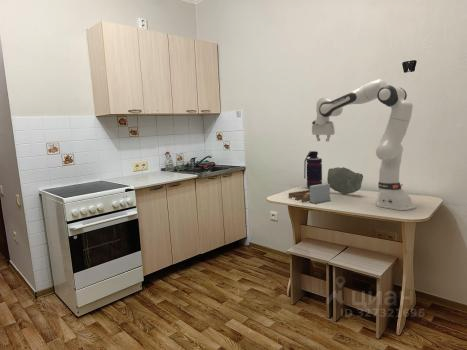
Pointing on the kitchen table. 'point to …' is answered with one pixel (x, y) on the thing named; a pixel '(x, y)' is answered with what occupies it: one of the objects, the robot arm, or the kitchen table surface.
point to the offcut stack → (306, 195)
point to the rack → (300, 195)
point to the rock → (344, 180)
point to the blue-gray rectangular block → (319, 193)
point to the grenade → (313, 169)
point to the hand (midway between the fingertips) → (323, 141)
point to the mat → (321, 202)
